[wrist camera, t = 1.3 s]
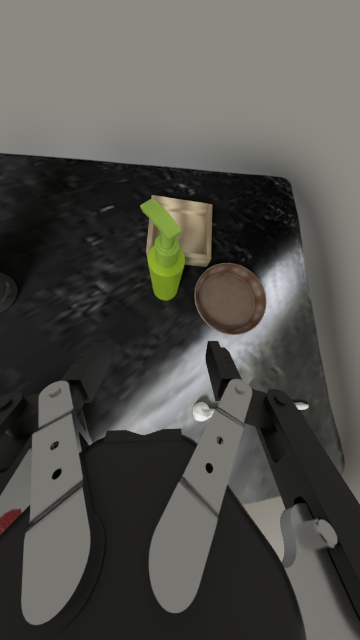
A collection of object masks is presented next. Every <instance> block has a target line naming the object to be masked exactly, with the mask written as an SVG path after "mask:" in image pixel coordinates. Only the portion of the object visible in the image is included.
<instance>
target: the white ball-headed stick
mask: <svg viewBox="0 0 360 640" xmlns="http://www.w3.org/2000/svg"><path fill="white" fill-rule="evenodd" d="M294 404H295V405H296V407H297V408H298V410H304V409H307V408H308V407H309V406H308V405H307V404H304V403H302V402H299V403H294ZM214 410H215V409H210V408H209V407H208V405H207V404H206V403H204V402H199V403H197V404H195V405H194V408H193V415H194V417H195V419H196V420H197V421H205V420H207V419H208V418H210V417H211V416H212V414H213V412H214Z"/></svg>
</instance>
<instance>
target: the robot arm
mask: <svg viewBox="0 0 360 640" xmlns="http://www.w3.org/2000/svg"><path fill="white" fill-rule="evenodd" d="M16 297H17V285H16V283H15V282H14V280H13V279H12V278H11V277H9V276H7V275H5V274H3V273H1V272H0V312H2V311H4V310H6V309H7V308H9V307H10V306H11V305H12V304H13V302H14V301H15V299H16ZM111 359H112V355H111V352H110V348H109V344H108V342H107V341H95V342H94V344H93V345H92V346H91V347H88V348H87V349H85V350H84V351H83V352H82V353H81V354H80V355H79V357H78V359H76V360H75V362H74V363H73V364H72V366H71V367H70V368H69V370H68V371H67V372H66V373H65V375H64V376H63V377H62V379H61V380H60V381H58V382H55V383H52V384H50V385H49V386H47V387H46V388H45V389H44V390H43V391H42V392H41V393H38V394H34V395H30V396H26V397H24V396H23V395H22V394H21V393H19V392H13V393H9V394H6V395H4V396H2V397H0V438H1V437H2V436H3V434H4V433H7V435H6V436H5V438H4V439H3V440H2V442H1V443H0V496H1V494H2V492H3V491H4V489H5V488H6V486H7V484H8V483H9V481H10V480H11V478H12V476H13V475H14V473H15V471H16V470H17V468H18V467H19V465H20V463H21V462H22V460H23V458H24V457H25V455H26V454H27V452H28V450H29V449H30V447H31V446H32V465H31V500H30V505H29V506H28V507H27V508H26V509H25V510H24V511H23V512H22V513H21V514H20V515H19V516H18V517H17V518H16V519H15V520H14V521H13V522H12V523H11V524H10V525H9V526H8V527H7V528H6V530H5V531H4V532H3V533H2V534H1V535H0V640H360V504H359V503H358V501H357V500H356V498H355V497H354V495H353V494H352V492H351V490H350V489H349V487H348V486H347V484H346V483H345V481H344V480H343V478H342V476H341V475H340V473H339V472H338V470H337V469H336V467H335V466H334V464H333V462H332V461H331V459H330V458H329V456H328V455H327V453H326V452H325V450H324V449H323V447H322V445H321V444H320V442H319V441H318V439H317V438H316V436H315V435H314V433H313V431H312V430H311V428H310V427H309V425H308V424H307V422H306V421H305V419H304V418H303V416H302V414H301V413H300V411H299V410H298V408H297V407H296V405H295V404H294V402H293V401H292V399H291V398H290V397H289V396H288V395H287V394H286V393H284V392H282V391H280V390H277V389H271V390H269V391H268V392H267V393H264V392H261V391H257V390H254V389H252V388H251V387H250V386H249V385H248V384H247V383H246V382H244V381H243V380H242V379H241V377H240V374H239V372H238V370H237V368H236V366H235V364H234V361H233V359H232V357H231V355H230V353H229V351H228V350H227V349H226V348H221V347H220V345H219V342H218V341H208V344H207V350H206V364H207V368H208V372H209V376H210V381H211V385H212V389H213V393H214V397H215V401H220V402H219V405H218V406H217V407H216V409H215V410H214V412H213V414H212V416H211V418H210V421H209V423H208V425H207V427H206V429H205V431H204V433H203V435H202V437H201V439H200V441H199V443H198V444H197V443H196V442H195V441H194V440H192V439H191V438H189V437H187V436H185V435H182V434H181V429H163V430H160V431H157V432H153V433H150V434H147V435H140V434H136V433H133V432H130V431H126V430H116V431H107V432H106V435H105V437H104V438H102V439H99V440H97V441H96V442H94V443H92V441H91V439H90V436H89V433H88V429H87V425H86V421H85V416H84V412H83V409H82V406H83V405H84V403H91V402H92V400H93V398H94V396H95V394H96V392H97V390H98V388H99V386H100V384H101V382H102V380H103V378H104V375H105V373H106V371H107V369H108V367H109V365H110V363H111ZM244 423H246V424H249V425H252V426H255V427H256V430H257V432H258V435H259V438H260V440H261V443H262V446H263V449H264V451H265V454H266V457H267V459H268V462H269V465H270V468H271V470H272V473H273V476H274V479H275V481H276V484H277V487H278V489H279V492H280V495H281V498H282V500H283V503H284V506H285V509H286V510H284V511H283V513H282V515H281V519H280V525H281V532H282V535H283V540H284V558H283V561H282V563H281V561H280V559H279V557H278V555H277V554H276V552H275V551H274V549H273V548H272V546H271V545H270V543H269V542H268V541H267V539H266V538H265V536H264V535H263V534H262V532H261V531H260V530H259V528H258V527H257V525H256V524H255V522H254V521H253V520H252V518H251V517H250V515H249V514H248V513H247V511H246V510H245V508H244V507H243V506H242V504H241V503H240V501H239V500H238V498H237V497H236V496H235V494H234V493H233V491H232V490H231V489H230V487H229V486H228V484H227V483H228V480H229V477H230V473H231V470H232V466H233V463H234V459H235V456H236V452H237V449H238V445H239V442H240V439H241V435H242V432H243V428H244V425H243V424H244Z"/></svg>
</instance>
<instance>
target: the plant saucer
mask: <svg viewBox="0 0 360 640" xmlns="http://www.w3.org/2000/svg"><path fill="white" fill-rule="evenodd" d="M195 303H196V307H197V310H198V312H199V314H200V316H201V317H202V319H203V320H204V321H205V322H206V323H207V324H208V325H209V326H210V327H212V328H213V329H215V330H216V331H218V332H221V333H224V334H228V335H239V334H243V333H246V332H249V331H250V330H252V329H253V328H255V327H256V326H257V325H258V324H259V323H260V321H261V320H262V318H263V316H264V313H265V310H266V295H265V291H264V288H263V286H262V284H261V282H260V281H259V280H258V278H257V277H256V276H255V275H254V274H253V273H252V272H251V271H249V270H248V269H247V268H245V267H243V266H240V265H237V264H233V263H221V264H217V265H214V266H212V267H210V268H209V269H207V270H206V271H205V272H204V273H203V274H202V275H201V276H200V278H199V280H198V282H197V284H196V288H195Z"/></svg>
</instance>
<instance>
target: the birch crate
mask: <svg viewBox="0 0 360 640" xmlns="http://www.w3.org/2000/svg"><path fill="white" fill-rule="evenodd" d="M152 198H153V199H155V200H156V201H157V202H158V203H160V204H161V205H162V206H163V207H164V208H165V209H166V211H167V212H168V213H169V214H170V215H171V217H172V218H173V219H174V221H175V222H176V223H177V224H178V226H179V227H180V228H181V230H182V232H181V234H180V235H179V236H177V237H176V238H177V239H178V241H179V245H180V246H179V248H180V249H181V250H182V251H183V253H184V256H185V264H184V265H193V266H203V267H207V265H208V264H209V262H210V260H211V236H212V204H206V203H200V202H193V201H187V200H180V199H174V198H168V197H161V196H155V195H152ZM159 235H161V234H160V230H159V229H158V228H157V227H156V225H155V224H154V223H153V222H152V220H151V219H149V229H148V239H147V249H146V253H147V259H148V253H149V251H150V249H151V248H152V247H153V246H154V244H155V240H156V238H157V237H158V236H159Z"/></svg>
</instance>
